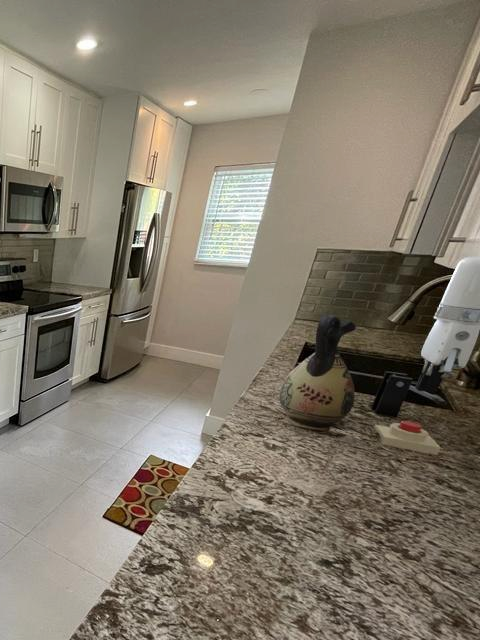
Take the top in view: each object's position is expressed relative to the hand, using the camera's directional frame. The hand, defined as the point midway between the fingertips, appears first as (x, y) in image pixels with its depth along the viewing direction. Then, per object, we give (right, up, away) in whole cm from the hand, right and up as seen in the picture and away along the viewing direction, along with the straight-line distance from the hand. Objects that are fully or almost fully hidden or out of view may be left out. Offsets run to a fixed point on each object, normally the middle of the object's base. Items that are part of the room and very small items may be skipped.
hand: (424, 390), depth 98 cm
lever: (+13, -1, +15) cm, 20 cm away
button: (0, -10, +4) cm, 11 cm away
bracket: (+9, -8, +20) cm, 23 cm away
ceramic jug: (-17, -10, +15) cm, 24 cm away
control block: (0, -13, +5) cm, 14 cm away
